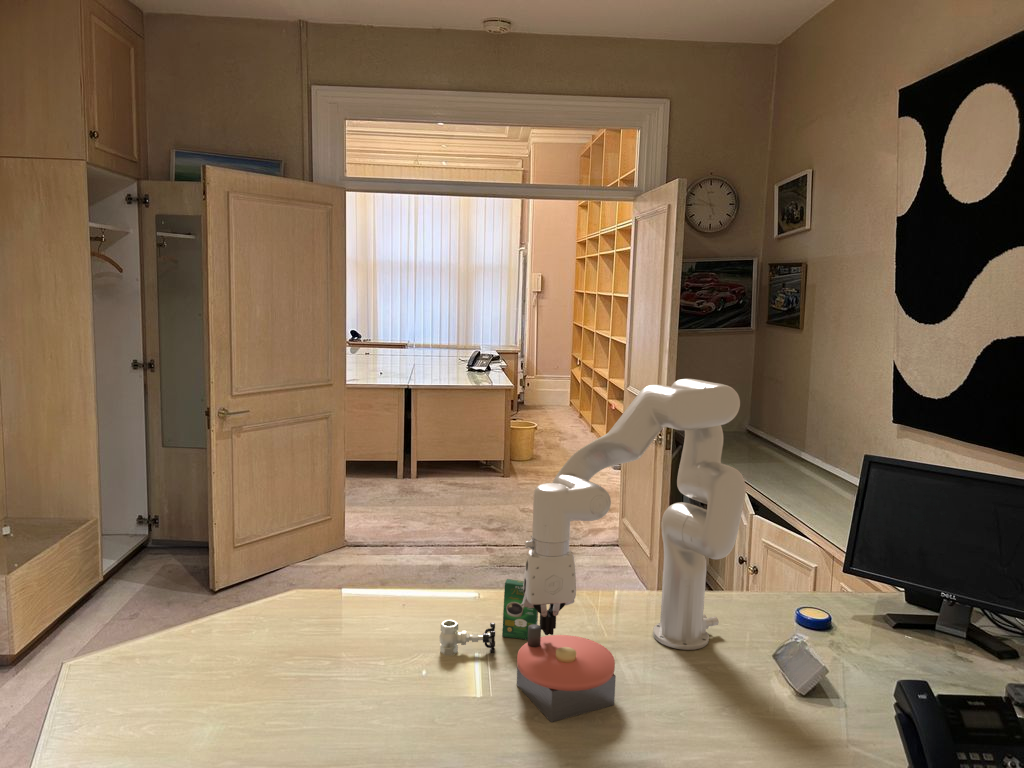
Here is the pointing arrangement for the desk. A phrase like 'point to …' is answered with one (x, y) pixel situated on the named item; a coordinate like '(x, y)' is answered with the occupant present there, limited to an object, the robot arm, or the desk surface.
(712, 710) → the desk surface
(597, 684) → the handwheel
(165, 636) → the desk surface
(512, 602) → the coffee box
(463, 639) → the valve
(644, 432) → the robot arm
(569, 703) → the block
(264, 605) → the desk surface
